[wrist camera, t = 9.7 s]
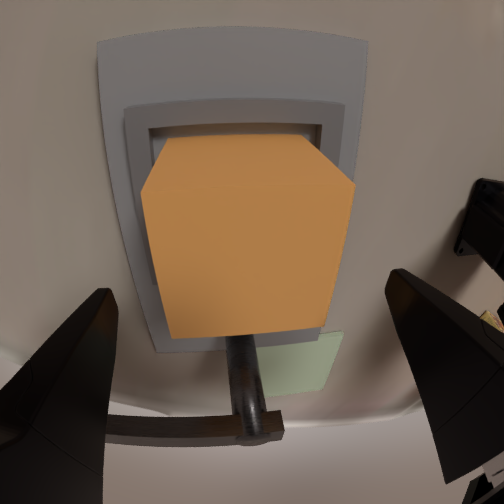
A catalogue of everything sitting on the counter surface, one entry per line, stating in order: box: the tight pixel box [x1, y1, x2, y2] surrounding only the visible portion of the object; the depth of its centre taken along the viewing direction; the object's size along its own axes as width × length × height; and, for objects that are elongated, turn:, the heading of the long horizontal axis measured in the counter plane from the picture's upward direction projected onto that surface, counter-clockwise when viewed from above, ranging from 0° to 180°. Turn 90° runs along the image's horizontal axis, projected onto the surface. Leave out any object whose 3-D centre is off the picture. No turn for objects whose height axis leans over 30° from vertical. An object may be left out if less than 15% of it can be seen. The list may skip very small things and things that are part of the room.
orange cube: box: [141, 134, 356, 339], centre depth 12 cm, size 6×6×6 cm
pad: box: [256, 331, 344, 398], centre depth 26 cm, size 9×9×1 cm
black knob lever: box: [105, 334, 285, 447], centre depth 15 cm, size 19×2×8 cm, turn 89°
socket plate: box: [97, 26, 368, 353], centre depth 16 cm, size 12×20×2 cm, turn 179°
